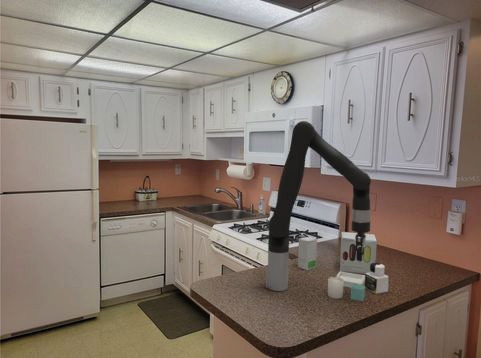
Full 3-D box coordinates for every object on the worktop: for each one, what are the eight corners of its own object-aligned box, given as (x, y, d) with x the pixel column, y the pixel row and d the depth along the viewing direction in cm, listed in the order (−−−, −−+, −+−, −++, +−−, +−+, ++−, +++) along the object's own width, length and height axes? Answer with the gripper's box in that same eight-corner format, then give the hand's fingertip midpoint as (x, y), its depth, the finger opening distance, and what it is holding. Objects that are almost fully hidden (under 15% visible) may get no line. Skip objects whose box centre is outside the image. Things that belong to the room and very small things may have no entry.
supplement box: (339, 271, 182) (341, 237, 180) (339, 263, 195) (341, 231, 193) (375, 275, 177) (377, 240, 176) (373, 267, 190) (374, 234, 188)
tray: (334, 284, 165) (334, 279, 164) (339, 276, 175) (339, 271, 175) (361, 289, 159) (361, 284, 159) (364, 280, 170) (365, 275, 170)
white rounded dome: (326, 296, 151) (326, 280, 151) (329, 291, 157) (330, 276, 156) (341, 299, 148) (342, 283, 148) (344, 294, 154) (344, 278, 153)
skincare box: (306, 270, 183) (307, 241, 181) (296, 267, 188) (297, 238, 186) (316, 267, 188) (317, 238, 187) (306, 264, 193) (307, 236, 192)
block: (350, 299, 149) (351, 287, 149) (352, 294, 154) (353, 283, 153) (363, 301, 147) (363, 290, 147) (364, 297, 152) (365, 285, 151)
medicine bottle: (364, 288, 161) (365, 262, 160) (376, 285, 164) (377, 260, 163) (375, 294, 155) (377, 267, 154) (388, 291, 157) (389, 265, 156)
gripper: (353, 216, 157) (352, 252, 158) (349, 222, 144) (349, 261, 145) (371, 217, 154) (370, 253, 155) (369, 223, 141) (368, 263, 142)
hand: (360, 257), depth 150 cm, fingers open, 8 cm apart
